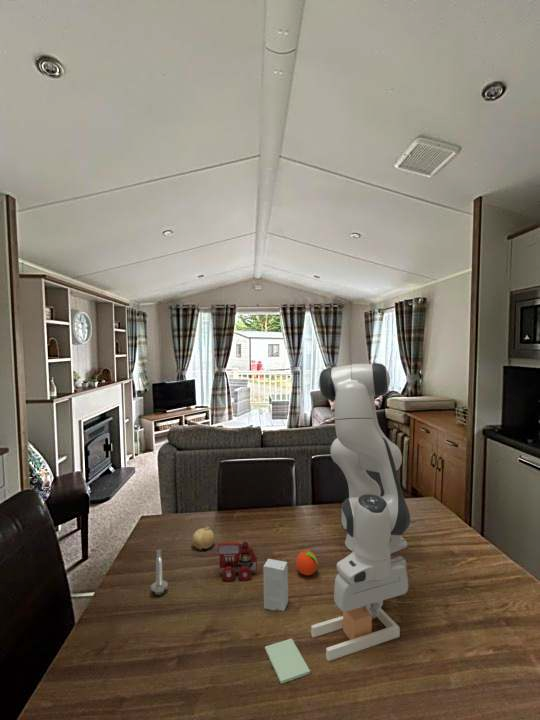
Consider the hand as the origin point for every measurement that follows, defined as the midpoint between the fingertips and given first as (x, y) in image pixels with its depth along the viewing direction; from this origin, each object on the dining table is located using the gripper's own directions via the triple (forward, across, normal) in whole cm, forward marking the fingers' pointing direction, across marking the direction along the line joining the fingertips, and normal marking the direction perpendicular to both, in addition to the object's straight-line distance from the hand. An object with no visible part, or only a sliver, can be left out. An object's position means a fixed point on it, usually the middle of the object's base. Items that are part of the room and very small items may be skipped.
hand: (372, 616), depth 94 cm
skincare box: (+4, +19, -18) cm, 27 cm away
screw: (+4, +49, -36) cm, 61 cm away
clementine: (+4, +4, -28) cm, 29 cm away
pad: (+4, +22, 0) cm, 22 cm away
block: (+4, +4, 0) cm, 6 cm away
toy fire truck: (+4, +25, -36) cm, 44 cm away
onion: (+4, +32, -57) cm, 66 cm away
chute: (+4, +5, 0) cm, 6 cm away
